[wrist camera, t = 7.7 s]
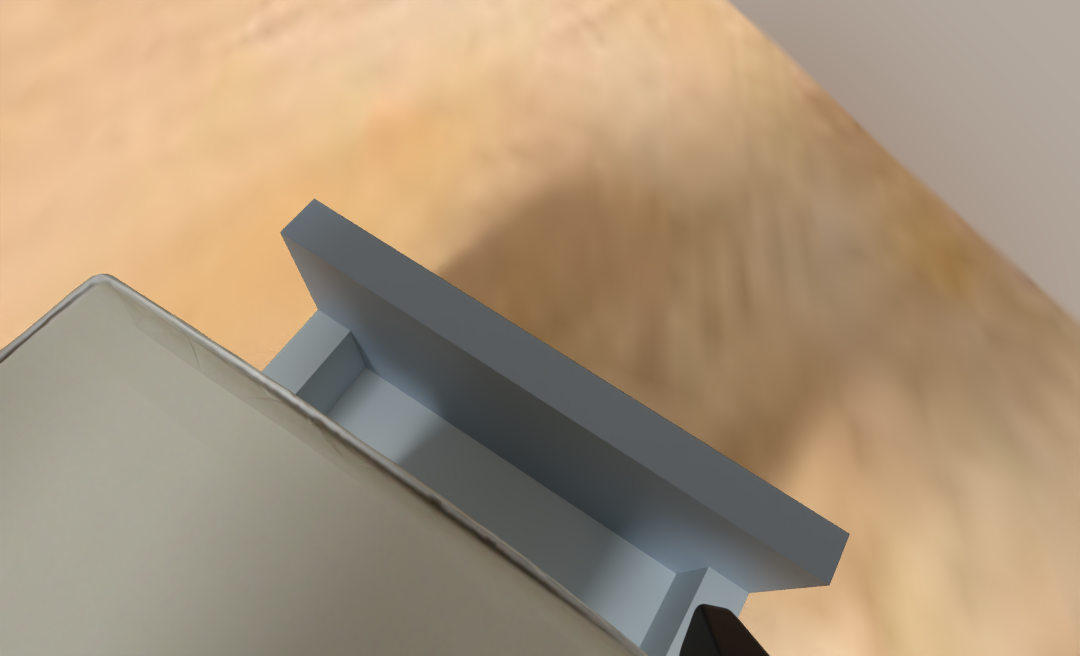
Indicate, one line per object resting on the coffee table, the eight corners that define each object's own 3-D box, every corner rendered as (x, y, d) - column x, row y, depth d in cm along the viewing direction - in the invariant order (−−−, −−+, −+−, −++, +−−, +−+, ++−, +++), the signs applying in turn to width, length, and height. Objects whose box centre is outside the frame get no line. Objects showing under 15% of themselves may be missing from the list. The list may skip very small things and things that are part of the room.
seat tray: (459, 1096, 13) (447, 1557, 7) (28, 730, 15) (-309, 814, 8) (713, 564, 18) (849, 534, 11) (365, 335, 19) (314, 198, 13)
